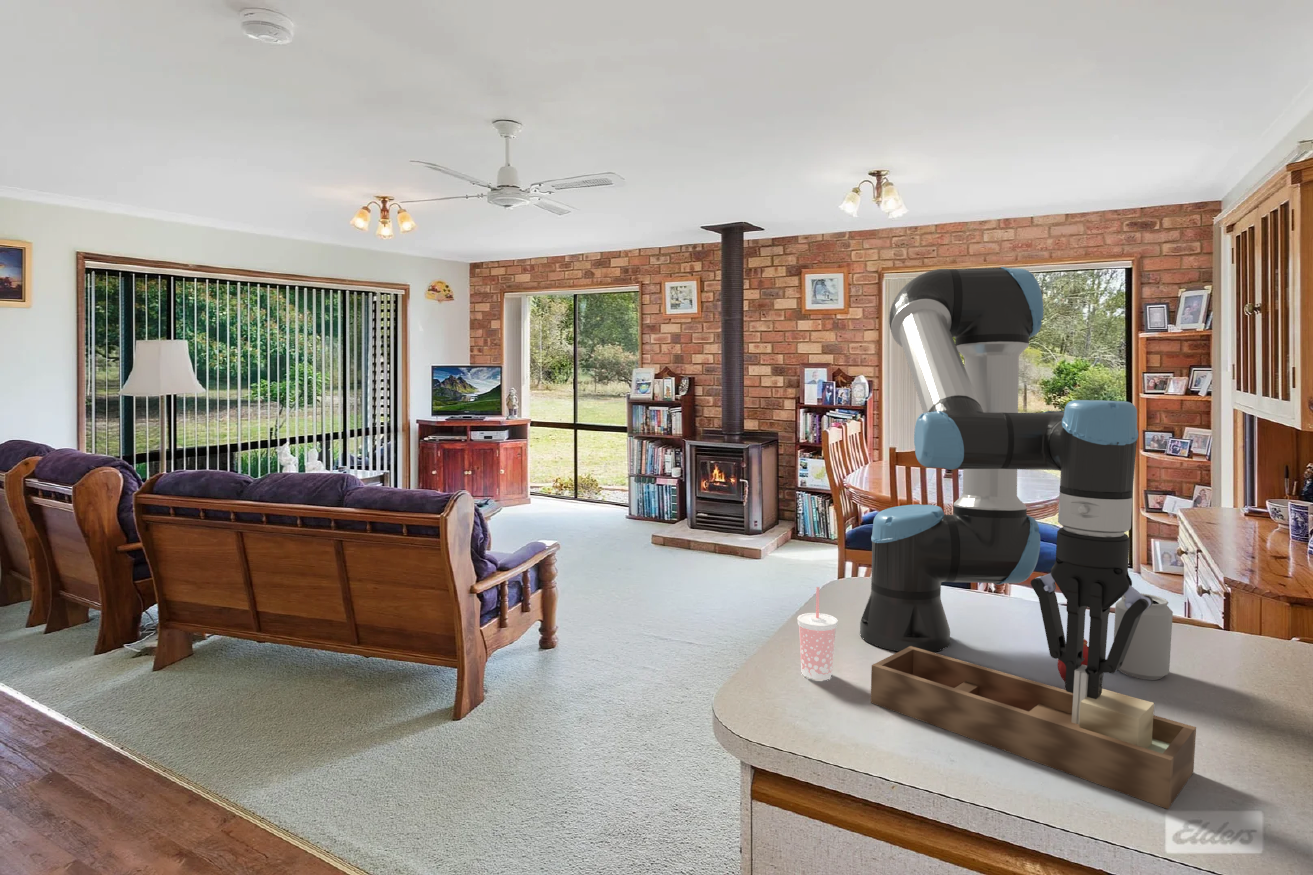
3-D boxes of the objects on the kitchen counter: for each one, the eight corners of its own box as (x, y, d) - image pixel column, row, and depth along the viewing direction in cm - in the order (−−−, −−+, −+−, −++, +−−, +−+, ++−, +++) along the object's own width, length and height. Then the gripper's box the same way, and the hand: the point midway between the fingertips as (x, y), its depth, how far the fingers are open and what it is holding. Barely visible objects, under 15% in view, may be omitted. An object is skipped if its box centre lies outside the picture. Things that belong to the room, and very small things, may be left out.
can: (1178, 683, 113) (1182, 606, 112) (1123, 679, 115) (1127, 603, 114) (1156, 664, 121) (1160, 591, 120) (1104, 661, 122) (1108, 589, 121)
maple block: (1078, 742, 89) (1080, 701, 89) (1095, 726, 93) (1097, 687, 93) (1136, 761, 85) (1138, 718, 85) (1151, 743, 89) (1154, 702, 89)
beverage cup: (837, 685, 113) (838, 594, 112) (795, 681, 115) (797, 591, 113) (836, 669, 119) (838, 582, 118) (797, 666, 120) (798, 580, 119)
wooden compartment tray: (870, 702, 107) (871, 665, 107) (909, 680, 115) (910, 645, 114) (1168, 809, 81) (1171, 760, 80) (1193, 772, 88) (1196, 727, 88)
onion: (1085, 703, 107) (1088, 648, 106) (1047, 688, 112) (1050, 636, 111) (1110, 695, 109) (1113, 641, 109) (1072, 681, 114) (1075, 629, 114)
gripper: (1024, 525, 92) (1014, 711, 94) (1146, 543, 82) (1132, 750, 84) (1047, 517, 97) (1037, 694, 99) (1165, 534, 87) (1151, 729, 89)
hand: (1081, 720), depth 92 cm, fingers closed
